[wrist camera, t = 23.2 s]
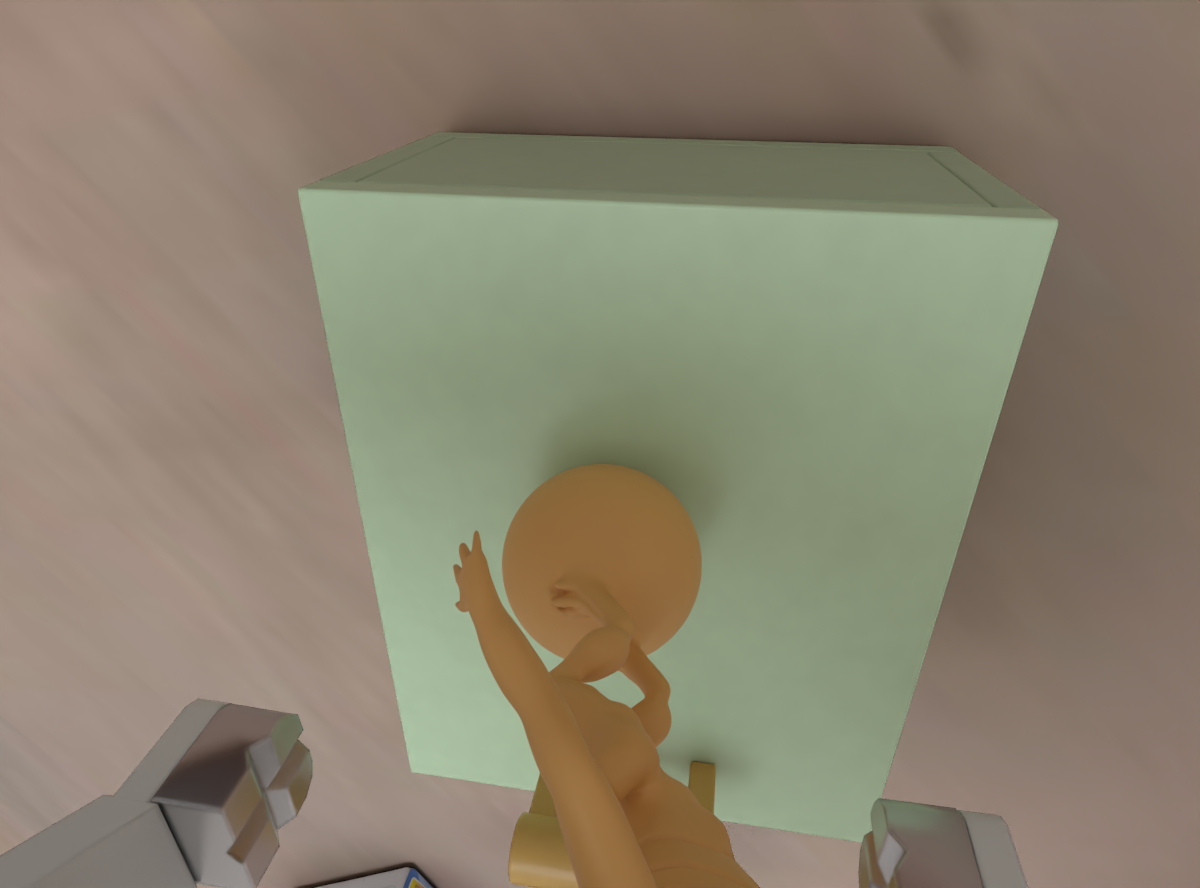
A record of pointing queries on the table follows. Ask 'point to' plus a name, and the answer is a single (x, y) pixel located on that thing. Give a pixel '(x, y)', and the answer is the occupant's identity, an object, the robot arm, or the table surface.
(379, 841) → the table surface
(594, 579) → the figurine
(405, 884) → the ink cartridge box
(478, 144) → the chest
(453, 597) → the chest lid
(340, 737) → the table surface
